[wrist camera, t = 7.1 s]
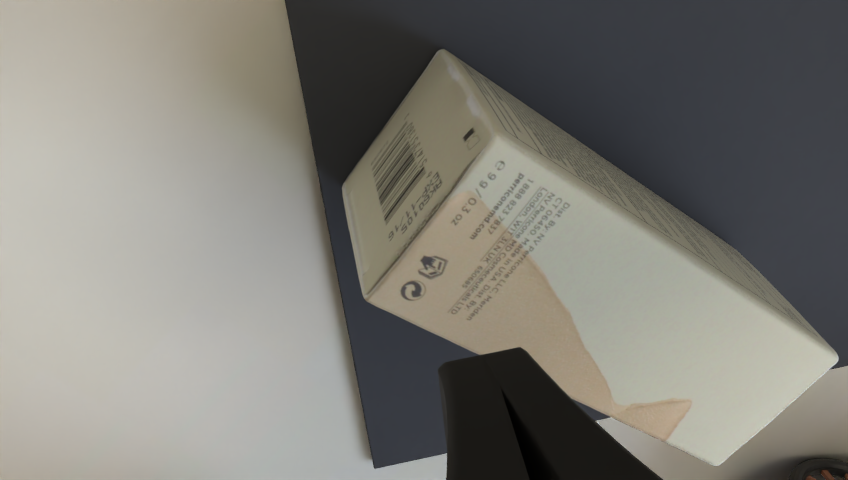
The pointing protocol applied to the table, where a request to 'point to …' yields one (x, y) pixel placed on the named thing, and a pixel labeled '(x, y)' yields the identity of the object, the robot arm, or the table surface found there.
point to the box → (570, 268)
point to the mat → (599, 142)
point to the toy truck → (820, 469)
